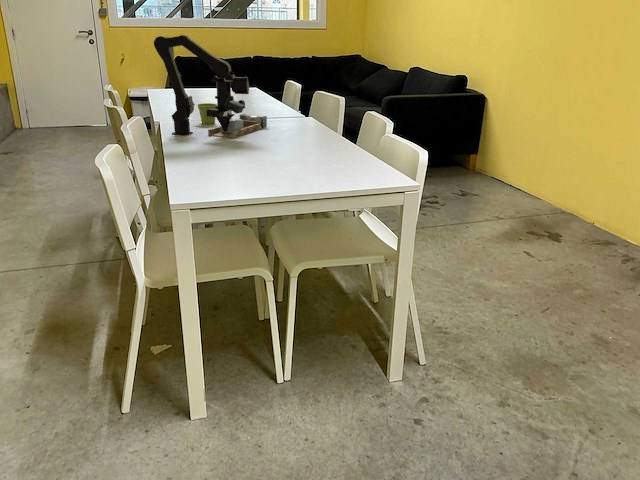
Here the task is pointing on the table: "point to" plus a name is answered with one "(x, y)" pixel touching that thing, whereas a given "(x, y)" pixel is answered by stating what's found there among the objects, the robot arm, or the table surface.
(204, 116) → the plant pot
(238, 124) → the grey box
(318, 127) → the table surface
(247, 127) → the brown tray
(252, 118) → the winch drum
